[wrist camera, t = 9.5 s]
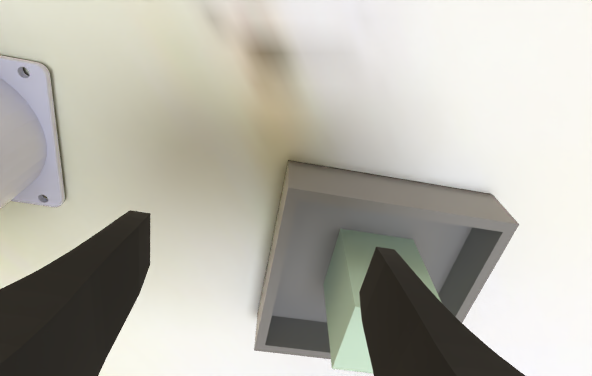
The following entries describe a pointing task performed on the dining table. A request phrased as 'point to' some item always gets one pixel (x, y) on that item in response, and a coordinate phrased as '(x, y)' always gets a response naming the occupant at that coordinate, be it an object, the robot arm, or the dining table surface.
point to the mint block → (345, 292)
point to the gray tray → (378, 220)
